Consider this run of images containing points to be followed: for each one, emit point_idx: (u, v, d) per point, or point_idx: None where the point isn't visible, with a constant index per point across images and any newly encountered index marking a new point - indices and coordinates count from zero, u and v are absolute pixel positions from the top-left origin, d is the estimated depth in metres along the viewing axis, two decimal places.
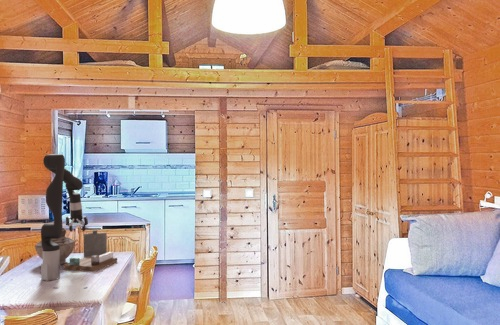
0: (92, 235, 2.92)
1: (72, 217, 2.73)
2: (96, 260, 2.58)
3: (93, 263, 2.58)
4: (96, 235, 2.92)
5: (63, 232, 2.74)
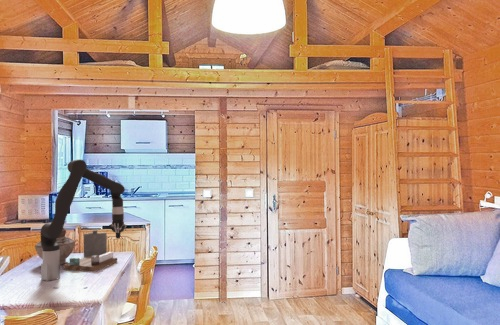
0: (92, 235, 2.92)
1: (113, 221, 2.72)
2: (96, 260, 2.58)
3: (93, 263, 2.58)
4: (96, 235, 2.92)
5: (63, 232, 2.74)
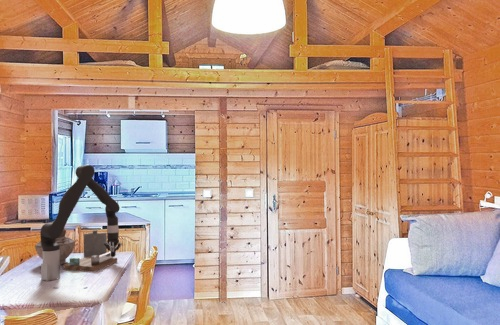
0: (92, 235, 2.92)
1: (108, 240, 2.73)
2: (96, 260, 2.58)
3: (93, 263, 2.58)
4: (96, 235, 2.92)
5: (63, 232, 2.74)
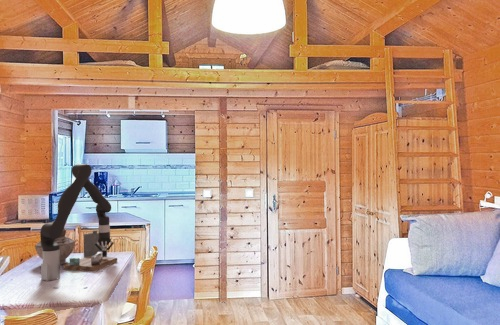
0: (92, 235, 2.92)
1: (99, 239, 2.74)
2: (98, 260, 2.59)
3: (95, 263, 2.58)
4: (96, 235, 2.92)
5: (63, 232, 2.74)
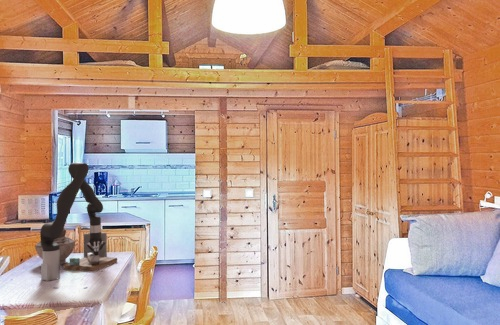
0: None
1: (91, 240, 2.72)
2: None
3: (96, 263, 2.58)
4: None
5: (63, 232, 2.74)
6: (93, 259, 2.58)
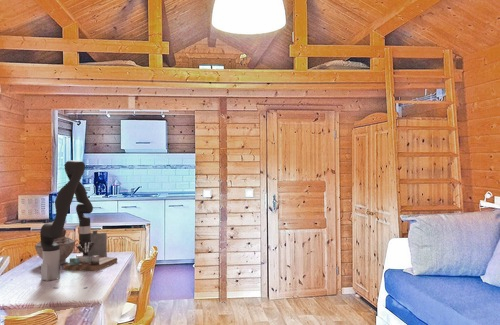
0: (92, 235, 2.92)
1: (82, 241, 2.68)
2: None
3: (98, 262, 2.59)
4: (96, 235, 2.92)
5: (63, 232, 2.74)
6: (95, 259, 2.58)
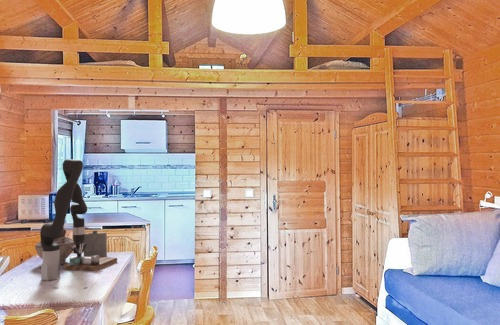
0: (92, 235, 2.92)
1: (77, 242, 2.64)
2: None
3: (98, 262, 2.60)
4: (96, 235, 2.92)
5: (63, 232, 2.74)
6: (96, 259, 2.58)
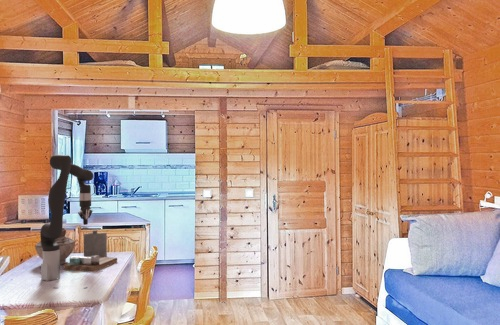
0: (92, 235, 2.92)
1: (84, 208, 2.72)
2: None
3: (98, 262, 2.60)
4: (96, 235, 2.92)
5: (63, 232, 2.74)
6: (96, 259, 2.58)
